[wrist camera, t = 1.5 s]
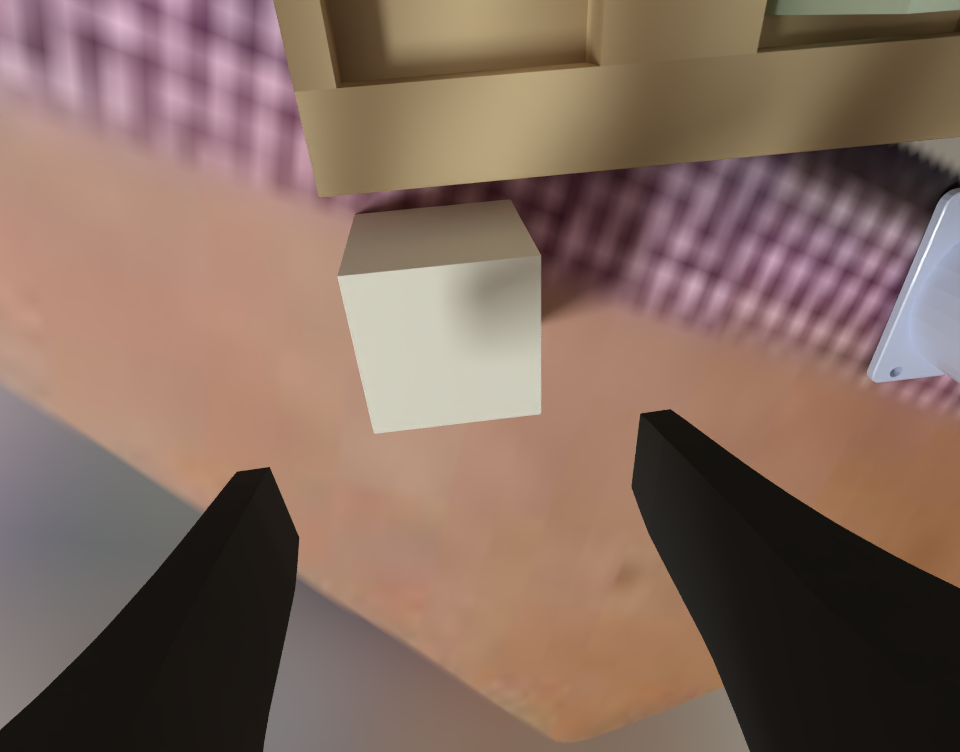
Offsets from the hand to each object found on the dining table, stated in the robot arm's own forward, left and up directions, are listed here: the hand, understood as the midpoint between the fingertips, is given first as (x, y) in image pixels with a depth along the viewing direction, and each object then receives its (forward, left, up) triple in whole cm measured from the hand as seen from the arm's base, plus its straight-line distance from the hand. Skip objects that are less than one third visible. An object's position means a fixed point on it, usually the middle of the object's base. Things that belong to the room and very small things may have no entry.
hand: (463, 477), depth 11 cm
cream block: (0, 0, -10) cm, 10 cm away
